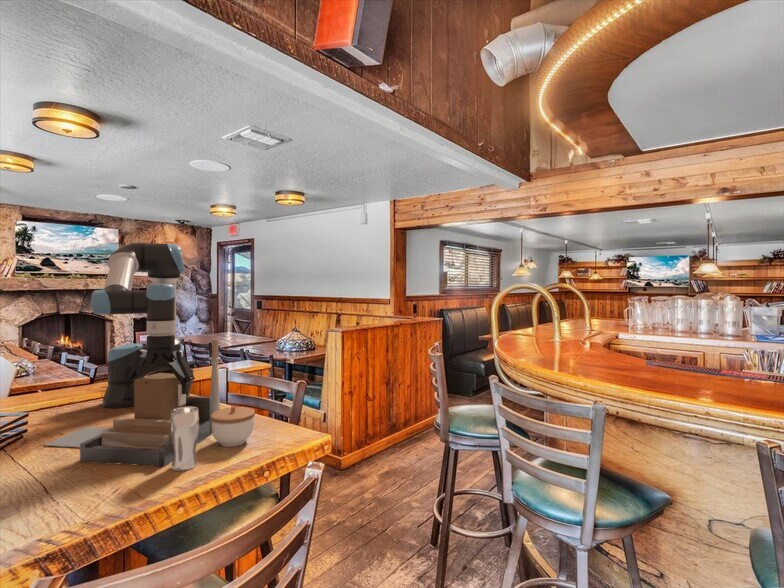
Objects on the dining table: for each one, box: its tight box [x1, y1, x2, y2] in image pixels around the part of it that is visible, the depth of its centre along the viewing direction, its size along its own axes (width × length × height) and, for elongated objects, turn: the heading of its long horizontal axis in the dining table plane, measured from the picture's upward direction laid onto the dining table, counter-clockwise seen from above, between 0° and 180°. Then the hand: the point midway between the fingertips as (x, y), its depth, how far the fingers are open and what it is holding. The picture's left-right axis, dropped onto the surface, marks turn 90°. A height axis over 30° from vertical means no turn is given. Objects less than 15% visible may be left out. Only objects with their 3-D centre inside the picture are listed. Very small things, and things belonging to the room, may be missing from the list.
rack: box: [79, 395, 213, 467], centre depth 120 cm, size 24×24×12 cm
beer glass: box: [170, 406, 199, 472], centre depth 108 cm, size 7×7×15 cm
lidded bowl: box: [211, 405, 256, 448], centre depth 125 cm, size 13×13×11 cm
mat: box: [42, 426, 113, 448], centre depth 127 cm, size 15×15×1 cm
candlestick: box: [209, 338, 221, 413], centre depth 141 cm, size 13×13×30 cm
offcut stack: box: [102, 417, 171, 449], centre depth 114 cm, size 8×19×9 cm, turn 85°
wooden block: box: [133, 373, 186, 420], centre depth 124 cm, size 10×10×20 cm
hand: (160, 404), depth 124 cm, fingers open, 13 cm apart
